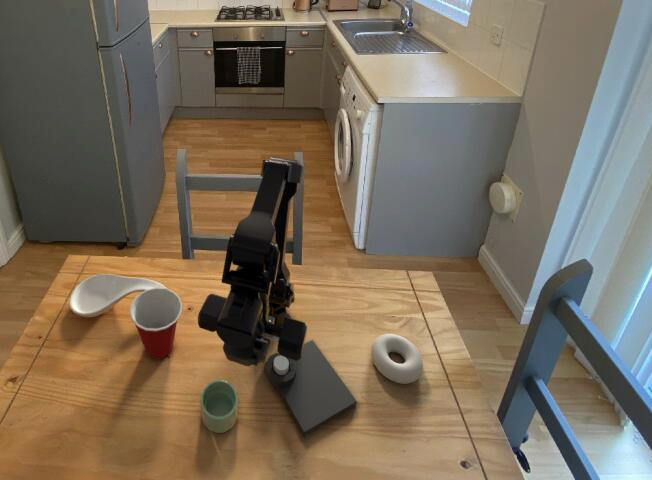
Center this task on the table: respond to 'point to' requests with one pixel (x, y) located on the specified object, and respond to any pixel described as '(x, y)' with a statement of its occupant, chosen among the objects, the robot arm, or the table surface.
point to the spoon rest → (105, 293)
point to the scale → (311, 389)
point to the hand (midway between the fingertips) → (251, 356)
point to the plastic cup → (156, 319)
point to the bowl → (219, 406)
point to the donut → (391, 369)
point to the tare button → (281, 365)
